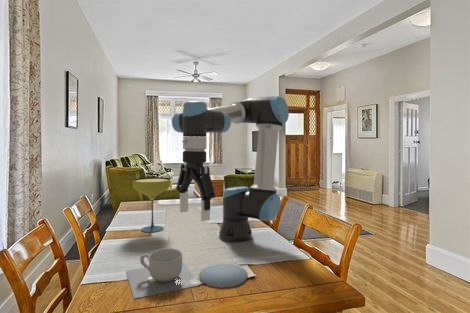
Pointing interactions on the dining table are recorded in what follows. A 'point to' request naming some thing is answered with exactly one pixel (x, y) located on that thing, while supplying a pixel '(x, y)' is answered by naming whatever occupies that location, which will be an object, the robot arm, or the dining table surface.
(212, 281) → the coaster
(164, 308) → the dining table surface
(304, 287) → the dining table surface
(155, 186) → the cocktail glass
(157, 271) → the teacup
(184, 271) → the card
